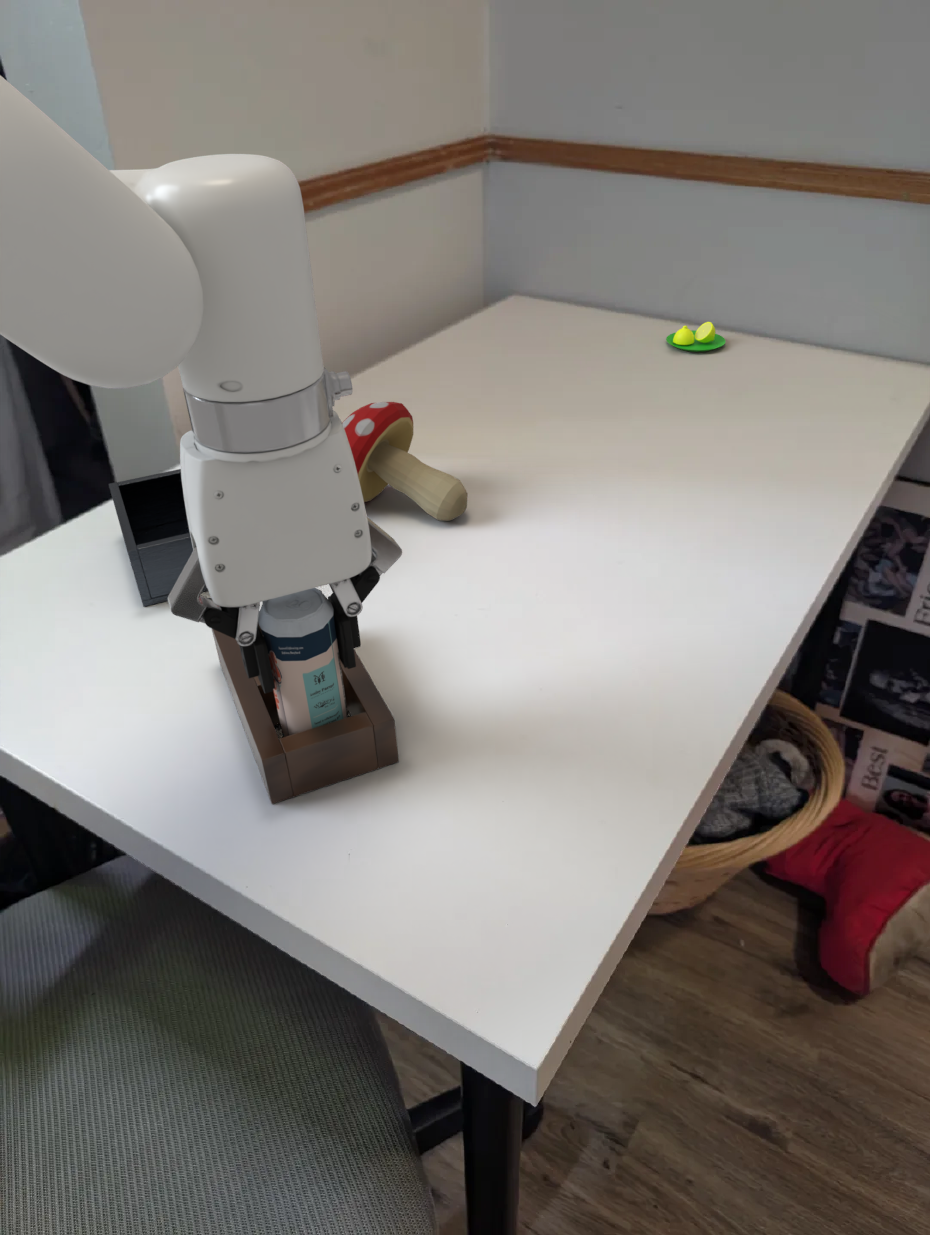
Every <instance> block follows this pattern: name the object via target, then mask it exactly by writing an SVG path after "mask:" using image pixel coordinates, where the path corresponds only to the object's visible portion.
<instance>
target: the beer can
mask: <svg viewBox="0 0 930 1235" xmlns="http://www.w3.org/2000/svg"><path fill="white" fill-rule="evenodd" d="M333 610H334V609H333V607H332V604H331V602H330V601H329V600H328V597H327V596H326V595H325V594H324V593H323V591H322V589H319V588H318V587H316V588H312V589H308V590H304V591H301V592H297V593H293V594H289V595H285V596H281V597H278V598H274V599H270V600H266V601H262V603H261V605H260V608H259V616H258V623H259V626H260V628H261V631H262V635H263V637H264V640H265V642H266V645H267V650H268V655H269V660H270V664H271V669H272V674H273V679H274V684H275V689H273V690H274V695H275V700H276V705H277V710H278V715H279V720H280V724H279V725H280V729H281V733H282V738H283V737H287V736H290V735H293V734H296V733H300V732H303V731H306V730H309V729H312V728H316V727H319V726H322V725H325V724H328V723H332V722H335V721H338V720H341V719H345V718H348V717H349V711H348V709H347V705H346V698H345V691H344V684H343V678H342V671H341V664H340V657H339V650H338V643H337V636H336V629H335V622H334V615H333Z"/></svg>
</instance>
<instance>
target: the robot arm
mask: <svg viewBox="0 0 930 1235" xmlns="http://www.w3.org/2000/svg"><path fill="white" fill-rule="evenodd" d="M302 196H303V195H302V191H301V187H300V184H299V181H298V180H297V177H296V176H295V174H294V172H293V171H292V169H291V168H290V167H289V166H288V165H286V164H285V163H284V162H282V161H281V160H279V159H277V158H273V157H270V156H266V155H261V154H255V153H254V154H253V153H250V154H249V153H219V154H208V155H199V156H194V157H187V158H183V159H182V158H181V159H177V160H174V161H170V162H167V163H165V164H163V165H161V166H159V167H155V168H141V169H136V168H135V169H108V168H107V167H106V166H105V165H104V164H103V163H102V162H101V161H100V160H98V159H97V158H96V157H94V156H93V155H92V154H91V153H90V152H89V151H88V150H87V149H85V147H84V146H83V145H81V144H80V143H79V142H78V141H76V140H75V139H74V138H73V137H72V136H71V135H70V134H68V133H67V131H66V130H64V129H63V127H61V126H60V125H58V124H57V123H56V121H55V120H53V119H52V118H51V117H50V116H48V115H47V114H46V113H45V112H44V111H43V110H41V109H40V108H39V107H38V106H37V105H36V104H35V103H34V102H32V101H31V100H30V99H29V98H28V97H27V96H25V95H24V94H23V93H22V92H21V91H19V90H18V89H17V87H15V86H13V85H12V83H11V82H9V81H8V80H7V79H5V77H4V76H2V75H1V74H0V336H2V337H4V338H5V339H6V340H8V341H9V342H11V343H12V344H13V345H16V346H17V347H18V348H20V349H21V350H23V351H24V352H26V353H27V354H28V355H30V356H31V357H33V358H35V359H36V360H38V361H39V362H41V363H42V364H44V365H46V366H47V367H49V368H51V369H52V370H54V371H55V372H56V373H59V374H60V375H62V376H64V377H67V378H69V379H70V380H73V381H76V382H79V383H81V384H84V385H88V386H91V387H96V388H103V389H109V390H116V389H117V390H119V389H121V390H122V389H133V388H137V387H142V386H146V385H149V384H151V383H153V382H157V381H158V380H160V379H163V378H164V377H166V376H167V375H168V374H170V373H171V372H172V371H174V370H175V369H177V368H178V372H179V376H180V380H181V381H180V382H181V385H182V392H183V395H184V400H185V404H186V408H187V413H188V417H189V418H188V419H189V422H190V427H191V430H189V431H187V432H185V433H184V434H183V435H182V436H181V437H180V440H179V462H180V469H181V479H182V487H183V495H184V502H185V508H186V515H187V520H188V526H189V531H190V536H191V541H192V546H193V552H192V554H191V556H190V558H189V559H188V561H187V563H186V565H185V567H184V569H183V570H182V572H181V574H180V576H179V578H178V579H177V581H176V583H175V585H174V587H173V589H172V590H171V592H170V594H169V596H168V601H167V603H168V606H169V609H170V612H171V614H172V615H174V616H177V617H179V618H182V619H186V620H189V621H192V622H195V623H203V624H205V625H206V627H207V628H209V629H211V628H212V629H214V630H216V631H218V632H221V633H223V634H225V635H227V636H229V637H232V638H234V639H236V641H237V643H238V644H239V647H240V651H241V656H242V660H243V664H244V668H245V671H246V674H247V676H248V678H253V677H256V676H258V678H259V681H260V683H261V686H262V688H263V691H264V693H269V692H272V691H273V689H275V684H274V679H273V674H272V669H271V664H270V660H269V655H268V650H267V645H266V642H265V640H264V637H263V635H262V633H261V631H260V629H259V626H258V616H259V611H260V609H261V602H263V601H266V600H270V599H274V598H278V597H281V596H285V595H289V594H293V593H297V592H301V591H304V590H308V589H312V588H319V587H323V586H326V585H328V586H329V587H330V589H331V591H332V593H331V594H330V595H329V596H327V599H328V600H329V601H330V602H331V604H332V607H333V609H334V610H333V615H334V622H335V629H336V636H337V643H338V650H339V657H340V660H341V662H342V664H343V666H344V667H345V668H346V667H347V668H348V669H350V668H354V667H356V661H355V654H354V650H355V649H357V648H360V647H362V646H361V645H362V643H361V636H360V635H361V634H360V626H359V619H358V616H359V615H360V614H361V613H362V611H363V606H364V605H363V603H364V601H365V600H366V599H367V598H368V596H369V595H370V593H372V591H373V590H374V588H375V587H376V586H377V584H378V583H379V582H380V579H381V576H382V575H383V574H385V573H386V572H388V571H389V570H390V569H391V567H392V566H393V565H394V564H396V562H397V561H398V560H399V559H400V558H401V557H402V555H403V549H402V548H401V546H400V545H399V544H398V543H397V541H396V539H395V538H394V537H392V536H391V535H390V534H388V532H386V531H385V530H384V529H383V528H382V527H380V526H379V525H378V524H377V523H375V522H374V521H373V520H372V519H371V518H370V517H368V515H367V510H366V505H365V502H364V500H363V495H362V491H361V487H360V483H359V478H358V474H357V470H356V465H355V462H354V458H353V454H352V451H351V448H350V445H349V442H348V439H347V435H346V432H345V430H344V427H343V424H342V422H343V421H342V420H341V418H340V416H339V414H338V412H336V411H335V410H334V409H333V407H335V401H339V400H340V399H341V398H342V397H346V396H347V397H348V396H351V395H353V391H354V390H353V382H352V378H351V375H350V373H349V372H348V371H347V370H344V371H340V372H336V371H334V370H331V371H330V370H329V371H328V369H327V368H326V366H325V367H324V359H323V351H322V343H321V337H320V328H319V321H318V312H317V304H316V297H315V296H316V295H315V288H314V281H313V279H314V278H313V273H312V264H311V256H310V248H309V239H308V232H307V224H306V216H305V208H304V207H305V206H304V202H303V197H302ZM205 586H206V587H207V589H208V593H209V596H210V597H208V598H207V597H205V596H204V595H202V593H203V592H202V591H203V589H204V588H205ZM212 629H211V630H212Z"/></svg>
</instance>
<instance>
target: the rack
mask: <svg viewBox="0 0 930 1235" xmlns="http://www.w3.org/2000/svg"><path fill="white" fill-rule="evenodd" d="M258 626H259V623H258ZM210 629H211V632H212V637H213V641H214V645H215V649H216V652H217V653H216V654H217V657H218V661H219V665H220V668H221V671H222V673H223V676H224V679H225V681H226V684H227V687H228V689H229V692H230V695H231V698H232V701H233V703H234V707H235V709H236V711H237V712H236V713H237V714H238V717H239V719H240V723H241V725H242V728H243V731H244V734H245V736H246V739H247V741H248V744H249V747H250V749H251V753H252V755H253V758H254V760H255V763H256V766H257V769H258V771H259V774H260V776H261V780H262V782H263V785H264V788H265V790H266V793H267V795H268V799H269V801H270V804H271V805H274V804H277V803H280V802H283V801H286V800H289V799H293V798H294V797H298V796H301V795H304V794H307V793H310V792H313V791H316V790H319V789H322V788H325V787H328V786H331V785H334V784H337V783H340V782H343V781H347V780H349V779H352V778H355V777H358V776H361V775H364V774H368V773H370V772H374V771H376V770H379V769H383V768H385V767H388V766H391V765H393V764H397V763H399V762H400V761H399V760H400V759H399V750H398V742H397V741H398V739H397V730H396V722H395V717H394V715H393V714H392V712H391V710H390V709H389V707H388V705H387V703H386V702H385V700H384V698H383V697H382V695H381V693H380V691H379V689H378V688H377V686H376V684H375V682H374V681H373V679H372V677H371V676H370V674H369V671H368V670H367V669H366V667H365V665H364V663H363V661H362V660H361V658H360V657H359V655H358V653H357V652H356V650H355V649H354V654H355V661H356V667H354V668H350V669H348V668H347V667H346V668H345V667H344V666H343V664H342V662H341V660H340V664H341V671H342V678H343V684H344V691H345V698H346V705H347V712H348V714H349V715H350V716H348V718H345V719H341V720H338V721H335V722H332V723H328V724H325V725H322V726H319V727H316V728H312V729H309V730H306V731H303V732H300V733H296V734H293V735H290V736H287V737H283V736H282V737H279V735H278V733H277V730H276V728H275V726H278V725H281V724H280V720H279V715H278V710H277V705H276V700H275V695H274V690H273V691H272V692H269V693H264V691H263V688H262V686H261V683H260V681H259V678H258V676H256V677H253V678H248V676H247V674H246V671H245V668H244V664H243V660H242V656H241V651H240V647H239V644H238V643H237V641H236V639H234V638H232V637H229V636H227V635H225V634H223V633H221V632H218V631H216V630H214V629H212V628H210ZM259 629H260V631H261V628H260V626H259ZM261 633H262V631H261Z"/></svg>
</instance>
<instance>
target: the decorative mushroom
mask: <svg viewBox="0 0 930 1235" xmlns="http://www.w3.org/2000/svg"><path fill="white" fill-rule="evenodd" d="M341 422H342V424H343V427H344V430H345V432H346V435H347V439H348V442H349V445H350V448H351V451H352V454H353V458H354V462H355V465H356V470H357V474H358V478H359V483H360V487H361V491H362V495H363V500H364V503H367V502H370V501H372V500H374V499H375V498H376V497H377V496H378V495H380V494H381V493H382V492H383V491H384V490H385V489H386V488H387V486H388V485H389V486H390V487H391V488H392V489H394V490H396V491H398V492H400V493H402V494H404V495H405V496H407V497H408V498H409V499H411V500H412V501H413V502H415V504H416V505H418V506H419V507H420V508H421V510H423V511H424V512H425V513H426V514H427V515H429V516H431V517H432V518H434V519H435V520H437V521H444V522H445V521H446V522H450V521H453V520H454V519H457V518H458V517H460V516H461V515H463V514H464V513H465V511H466V509H467V507H468V494H469V493H468V491H467V488H466V487H465V485H464V483H463V482H462V481H461V480H460V479H458V478H457V477H455V476H453V475H452V474H450V473H447V472H445V471H442V470H439V469H437V468H435V467H432V466H430V465H428V464H426V463H424V462H423V461H422V460H420V459H419V458H417V457H416V456H415V455H413V454H411V453H410V452H409V451H410V448H411V445H412V441H413V438H414V419H413V415H412V414H411V413H410V410H408V408H407V407H406V406H405V405H404V404H403V403H401V402H397V401H379V402H370V403H367V404H365V405H363V406H361V407H359V408H357V409H356V410H354V411H353V412H352V413H350V414H349V415H348V416H347V417H346V418H345V419H344V420H343V421H341Z"/></svg>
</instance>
